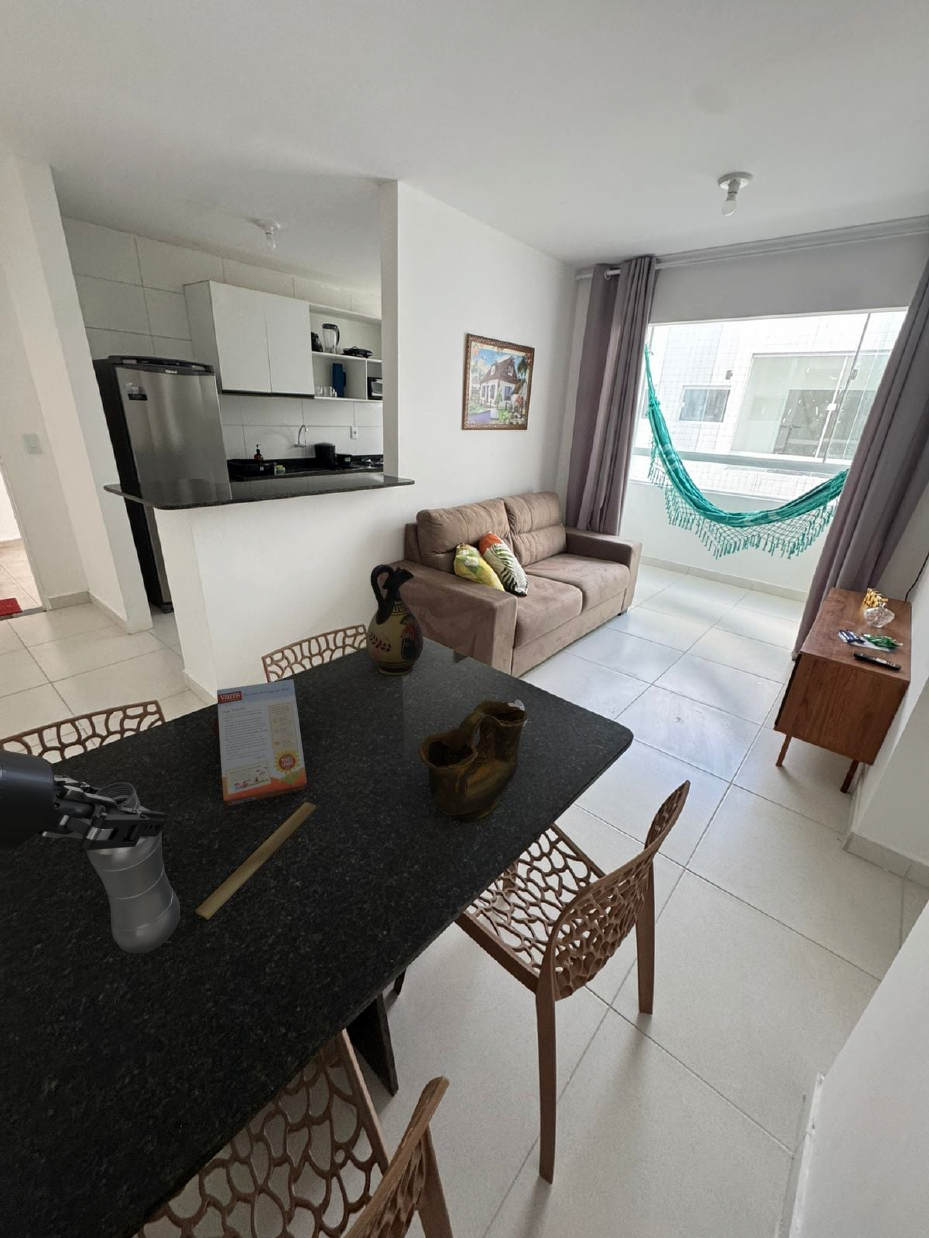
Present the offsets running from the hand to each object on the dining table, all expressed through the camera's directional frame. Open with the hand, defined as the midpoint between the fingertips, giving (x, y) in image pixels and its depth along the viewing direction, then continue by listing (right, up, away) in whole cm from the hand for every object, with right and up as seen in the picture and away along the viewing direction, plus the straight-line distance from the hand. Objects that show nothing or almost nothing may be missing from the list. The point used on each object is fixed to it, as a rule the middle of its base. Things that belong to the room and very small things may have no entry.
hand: (138, 812), depth 52 cm
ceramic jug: (+13, +6, +89) cm, 91 cm away
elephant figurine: (+44, -5, +68) cm, 81 cm away
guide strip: (0, -19, +31) cm, 36 cm away
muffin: (-13, -8, +55) cm, 57 cm away
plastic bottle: (-2, -16, +5) cm, 17 cm away
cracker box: (-2, -12, +40) cm, 42 cm away
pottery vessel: (+35, -15, +45) cm, 58 cm away
